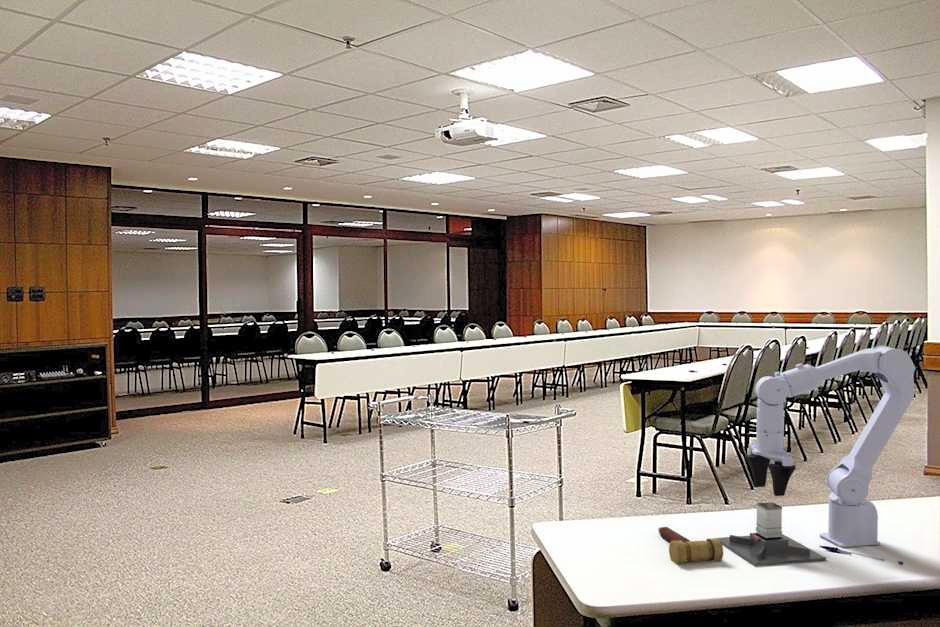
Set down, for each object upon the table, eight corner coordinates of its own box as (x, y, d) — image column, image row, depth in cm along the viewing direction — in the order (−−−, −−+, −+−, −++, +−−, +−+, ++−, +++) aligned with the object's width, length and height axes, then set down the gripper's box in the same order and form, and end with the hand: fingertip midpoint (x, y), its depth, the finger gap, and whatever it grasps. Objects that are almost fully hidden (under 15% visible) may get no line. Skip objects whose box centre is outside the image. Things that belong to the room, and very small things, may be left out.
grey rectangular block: (772, 531, 170) (772, 502, 169) (782, 537, 166) (782, 507, 166) (755, 532, 169) (756, 503, 169) (765, 538, 165) (766, 508, 165)
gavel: (638, 520, 179) (679, 517, 181) (639, 540, 179) (680, 537, 181) (677, 544, 159) (723, 541, 160) (678, 566, 159) (724, 563, 160)
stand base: (781, 535, 177) (781, 522, 177) (826, 560, 161) (826, 546, 161) (715, 540, 174) (715, 527, 174) (754, 566, 158) (754, 551, 158)
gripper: (736, 425, 182) (736, 483, 182) (772, 437, 167) (771, 500, 168) (764, 424, 183) (763, 482, 183) (802, 436, 169) (801, 498, 169)
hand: (769, 490), depth 176 cm, fingers open, 7 cm apart
